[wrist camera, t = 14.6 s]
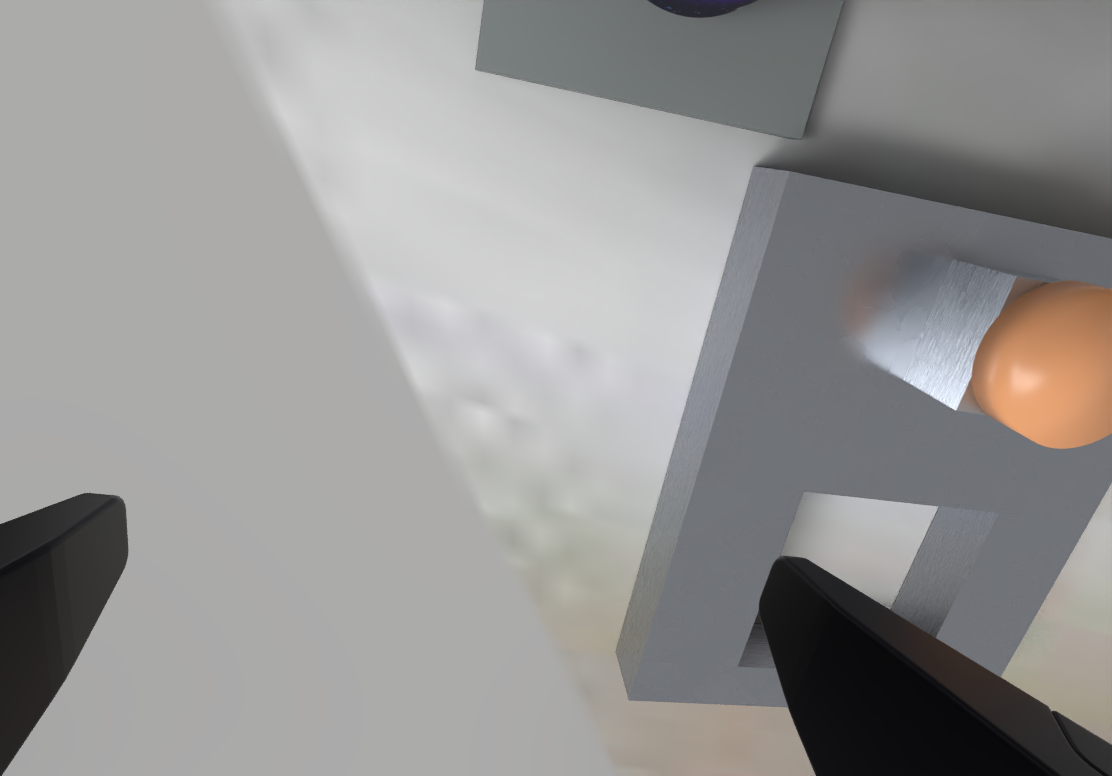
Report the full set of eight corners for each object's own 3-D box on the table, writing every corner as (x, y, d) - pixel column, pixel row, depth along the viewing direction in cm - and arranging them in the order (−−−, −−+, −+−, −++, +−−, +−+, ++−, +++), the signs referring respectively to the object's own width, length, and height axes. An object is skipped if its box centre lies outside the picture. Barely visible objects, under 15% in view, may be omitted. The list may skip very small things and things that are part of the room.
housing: (1159, 251, 23) (1331, 281, 18) (939, 670, 30) (1023, 768, 25) (753, 166, 20) (836, 176, 15) (615, 652, 27) (644, 758, 22)
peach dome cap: (1107, 284, 19) (1202, 307, 16) (1039, 417, 20) (1118, 457, 18) (981, 259, 18) (1060, 280, 16) (920, 399, 20) (985, 438, 17)
